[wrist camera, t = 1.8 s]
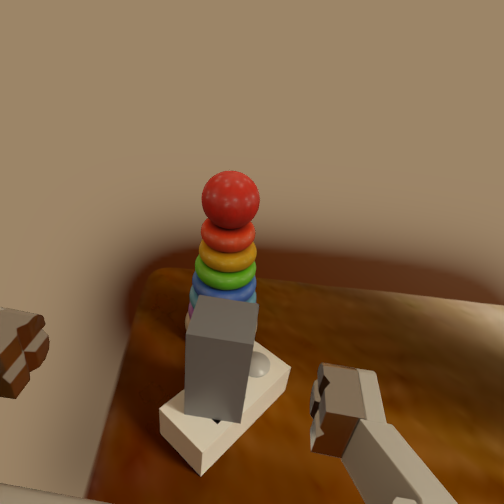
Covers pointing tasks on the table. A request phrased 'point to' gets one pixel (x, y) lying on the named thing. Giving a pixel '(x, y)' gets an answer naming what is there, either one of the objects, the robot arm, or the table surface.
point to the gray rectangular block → (219, 358)
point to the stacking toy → (226, 241)
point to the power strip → (224, 433)
